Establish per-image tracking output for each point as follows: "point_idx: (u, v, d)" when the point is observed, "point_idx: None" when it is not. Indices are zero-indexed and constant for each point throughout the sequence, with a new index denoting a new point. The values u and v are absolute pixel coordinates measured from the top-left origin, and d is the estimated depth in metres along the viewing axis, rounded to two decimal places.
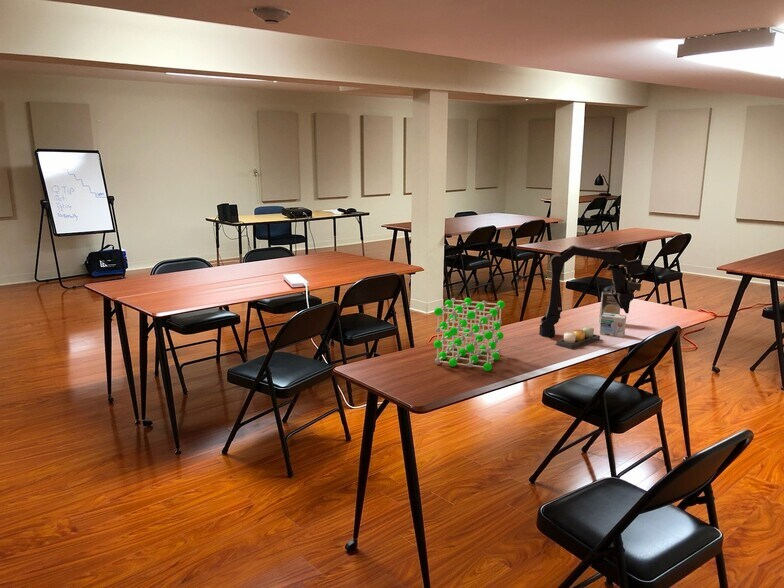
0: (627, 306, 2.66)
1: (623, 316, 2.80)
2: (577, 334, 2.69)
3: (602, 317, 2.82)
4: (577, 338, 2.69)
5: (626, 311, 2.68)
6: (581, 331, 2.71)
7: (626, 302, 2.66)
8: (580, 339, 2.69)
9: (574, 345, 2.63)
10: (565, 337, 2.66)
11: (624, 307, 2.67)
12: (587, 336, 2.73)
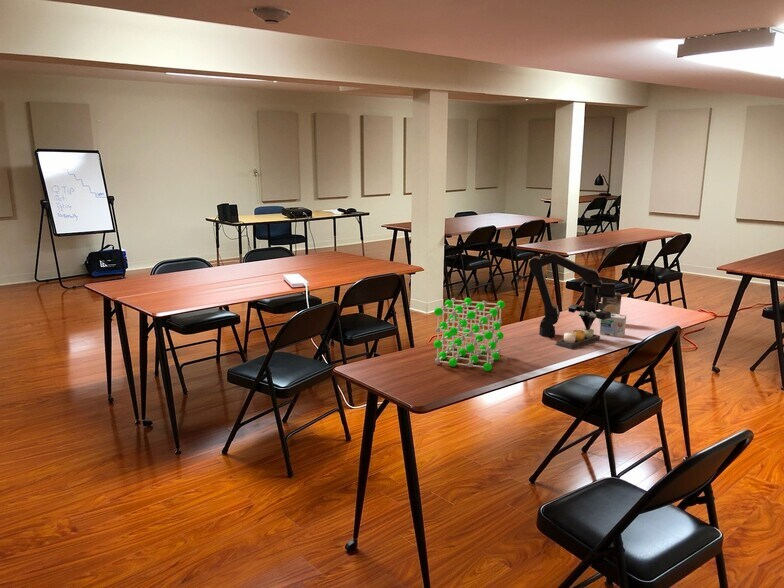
0: (591, 323, 2.74)
1: (623, 316, 2.80)
2: (577, 334, 2.69)
3: None
4: (577, 338, 2.69)
5: (589, 328, 2.74)
6: (581, 331, 2.71)
7: (591, 319, 2.73)
8: (580, 339, 2.69)
9: (574, 345, 2.63)
10: (565, 337, 2.66)
11: (589, 324, 2.73)
12: (587, 337, 2.74)
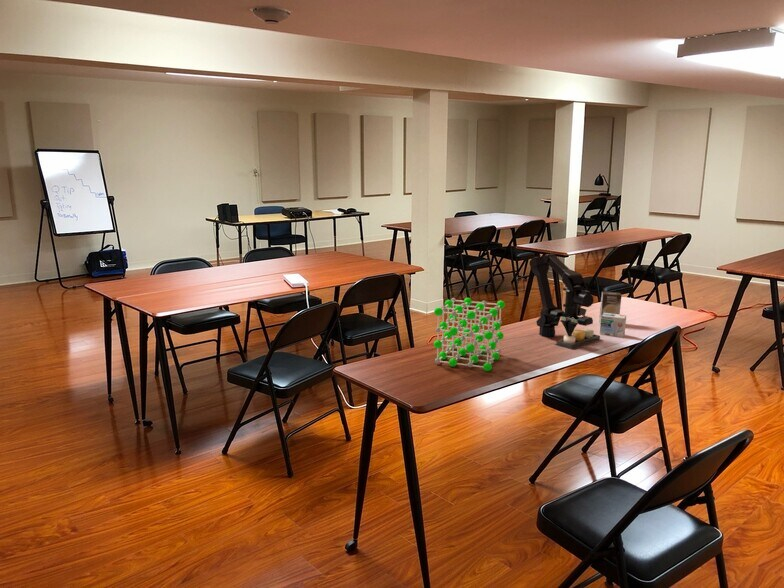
0: (573, 329, 2.65)
1: (623, 316, 2.80)
2: (577, 334, 2.69)
3: (602, 317, 2.82)
4: (577, 338, 2.69)
5: (570, 334, 2.66)
6: (581, 331, 2.71)
7: (573, 325, 2.65)
8: (580, 339, 2.69)
9: (574, 345, 2.63)
10: (565, 339, 2.66)
11: (571, 330, 2.64)
12: None
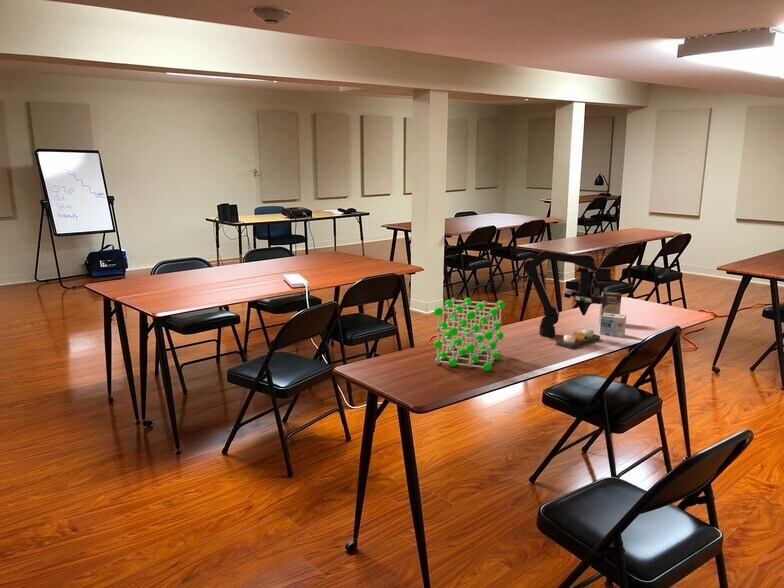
0: (587, 308, 2.74)
1: (623, 316, 2.80)
2: (577, 336, 2.69)
3: (602, 317, 2.82)
4: None
5: (584, 313, 2.74)
6: (581, 333, 2.71)
7: (587, 304, 2.73)
8: None
9: (574, 345, 2.63)
10: (565, 339, 2.66)
11: (585, 309, 2.73)
12: None
